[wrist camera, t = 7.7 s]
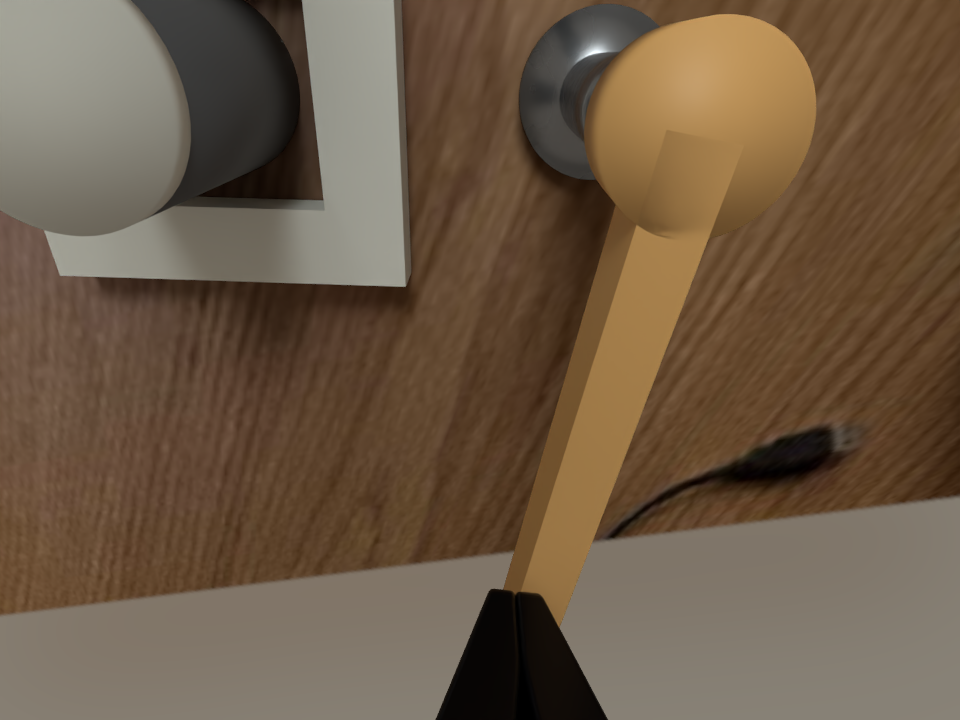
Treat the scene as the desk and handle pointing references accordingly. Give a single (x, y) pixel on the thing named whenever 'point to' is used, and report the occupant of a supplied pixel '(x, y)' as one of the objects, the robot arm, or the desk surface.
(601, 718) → the robot arm
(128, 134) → the plug
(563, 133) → the post
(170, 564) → the desk surface
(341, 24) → the socket block
